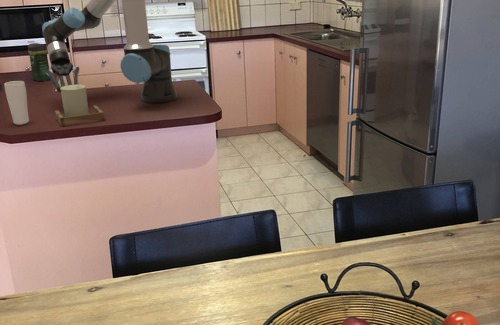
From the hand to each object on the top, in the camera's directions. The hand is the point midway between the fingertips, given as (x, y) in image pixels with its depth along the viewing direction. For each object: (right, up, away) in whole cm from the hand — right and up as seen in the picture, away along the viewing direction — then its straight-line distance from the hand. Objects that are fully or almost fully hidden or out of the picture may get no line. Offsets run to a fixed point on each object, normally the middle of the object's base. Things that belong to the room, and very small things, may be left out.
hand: (71, 105), depth 201 cm
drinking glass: (-15, -8, -10) cm, 20 cm away
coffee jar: (-38, +20, +66) cm, 79 cm away
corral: (+5, -6, -6) cm, 10 cm away
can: (+3, -5, -3) cm, 7 cm away
